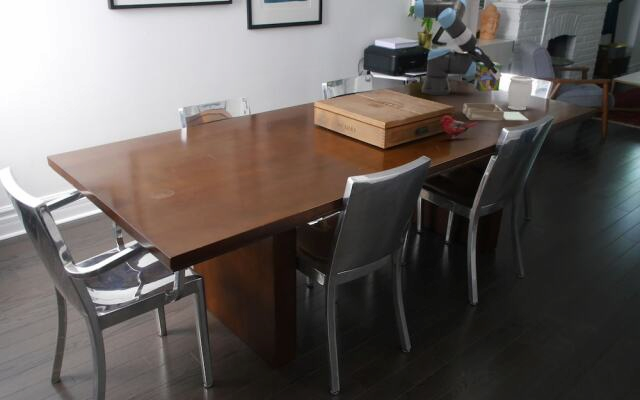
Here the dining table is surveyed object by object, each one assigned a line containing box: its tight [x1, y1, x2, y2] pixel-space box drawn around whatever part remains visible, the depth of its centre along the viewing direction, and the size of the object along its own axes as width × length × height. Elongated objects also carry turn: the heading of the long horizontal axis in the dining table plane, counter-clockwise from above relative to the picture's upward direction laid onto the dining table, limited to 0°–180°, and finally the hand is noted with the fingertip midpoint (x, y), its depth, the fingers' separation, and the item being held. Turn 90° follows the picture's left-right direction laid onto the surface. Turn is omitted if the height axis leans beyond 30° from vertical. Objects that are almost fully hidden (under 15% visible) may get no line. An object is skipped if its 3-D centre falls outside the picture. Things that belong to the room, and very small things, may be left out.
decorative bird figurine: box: [439, 115, 480, 140], centre depth 209 cm, size 3×18×10 cm, turn 106°
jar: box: [507, 75, 534, 111], centre depth 255 cm, size 11×10×15 cm
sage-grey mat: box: [503, 111, 529, 122], centre depth 244 cm, size 14×10×1 cm
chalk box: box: [473, 54, 503, 92], centre depth 236 cm, size 9×9×15 cm
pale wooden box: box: [462, 103, 505, 121], centre depth 243 cm, size 15×15×4 cm
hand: (493, 75), depth 237 cm, fingers closed on chalk box, 10 cm apart
